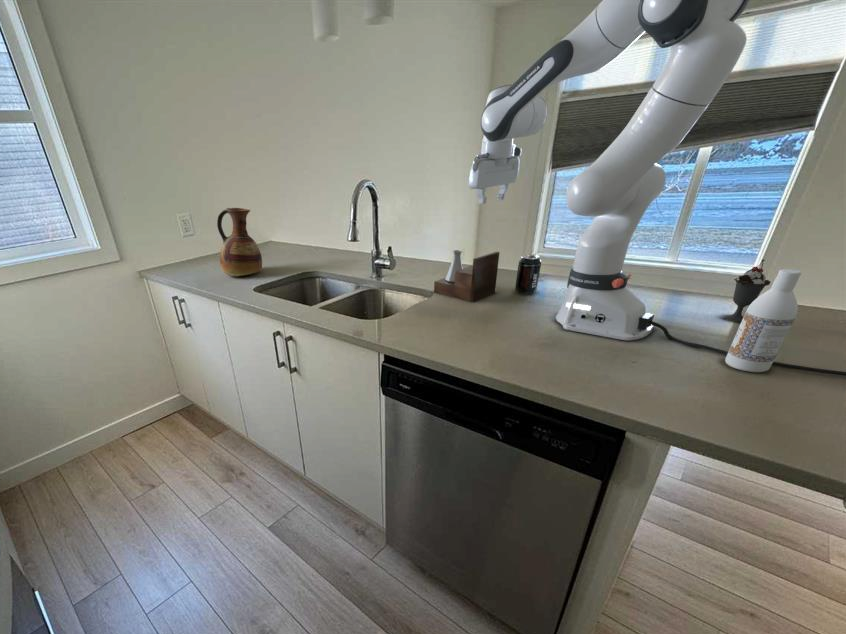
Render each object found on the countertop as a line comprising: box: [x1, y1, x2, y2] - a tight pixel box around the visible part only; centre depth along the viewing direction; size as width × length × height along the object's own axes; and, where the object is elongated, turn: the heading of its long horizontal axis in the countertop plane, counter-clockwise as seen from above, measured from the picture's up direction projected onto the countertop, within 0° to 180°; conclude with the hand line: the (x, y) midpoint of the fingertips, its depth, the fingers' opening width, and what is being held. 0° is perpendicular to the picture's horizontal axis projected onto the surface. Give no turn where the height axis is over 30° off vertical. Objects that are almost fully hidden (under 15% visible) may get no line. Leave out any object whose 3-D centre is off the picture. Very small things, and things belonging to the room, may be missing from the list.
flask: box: [445, 249, 464, 282], centre depth 141 cm, size 7×7×10 cm
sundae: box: [722, 259, 771, 323], centre depth 101 cm, size 7×7×15 cm
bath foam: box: [724, 268, 802, 373], centre depth 80 cm, size 7×7×20 cm
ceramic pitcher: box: [216, 207, 263, 277], centre depth 188 cm, size 20×20×30 cm
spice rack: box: [433, 251, 500, 303], centre depth 139 cm, size 17×12×14 cm
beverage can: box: [514, 254, 542, 295], centre depth 134 cm, size 7×7×12 cm
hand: (491, 201), depth 129 cm, fingers open, 8 cm apart
